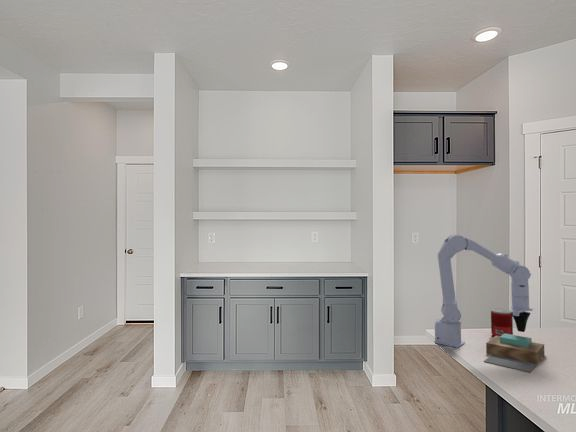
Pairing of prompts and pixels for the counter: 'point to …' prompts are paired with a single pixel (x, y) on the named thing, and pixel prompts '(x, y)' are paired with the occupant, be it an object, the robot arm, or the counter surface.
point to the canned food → (501, 322)
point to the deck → (515, 350)
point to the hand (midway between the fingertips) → (521, 331)
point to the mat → (510, 363)
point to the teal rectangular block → (516, 340)
